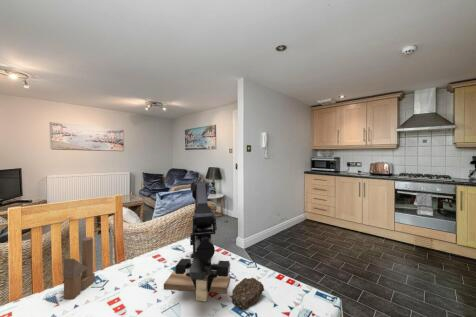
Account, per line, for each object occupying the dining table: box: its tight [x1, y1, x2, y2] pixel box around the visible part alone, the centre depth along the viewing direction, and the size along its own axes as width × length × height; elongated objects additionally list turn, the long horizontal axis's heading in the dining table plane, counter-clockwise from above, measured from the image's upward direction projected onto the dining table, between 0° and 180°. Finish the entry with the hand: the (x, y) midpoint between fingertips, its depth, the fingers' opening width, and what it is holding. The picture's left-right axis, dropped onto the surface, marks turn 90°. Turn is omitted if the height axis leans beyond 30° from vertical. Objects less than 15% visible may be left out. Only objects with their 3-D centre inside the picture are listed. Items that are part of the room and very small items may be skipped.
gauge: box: [195, 275, 211, 302], centre depth 78 cm, size 14×4×7 cm, turn 174°
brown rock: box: [231, 276, 265, 310], centre depth 73 cm, size 12×10×5 cm
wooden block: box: [63, 236, 96, 300], centre depth 78 cm, size 4×11×18 cm, turn 179°
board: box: [163, 270, 231, 294], centre depth 81 cm, size 9×24×2 cm, turn 84°
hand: (203, 291), depth 74 cm, fingers open, 4 cm apart
